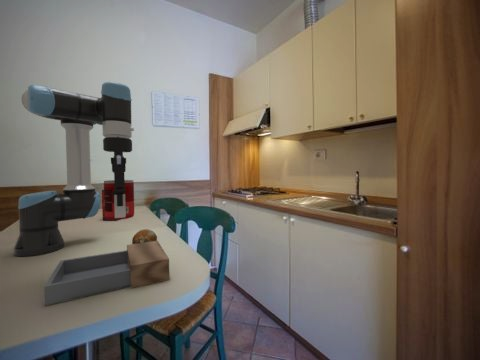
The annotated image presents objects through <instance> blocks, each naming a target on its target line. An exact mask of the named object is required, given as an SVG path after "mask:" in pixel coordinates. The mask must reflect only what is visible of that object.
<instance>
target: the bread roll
mask: <svg viewBox="0 0 480 360" xmlns="http://www.w3.org/2000/svg"><path fill="white" fill-rule="evenodd" d="M131 240H132V242H131V243H132V244H138V243H145V242H152V241H158V235H157V234H156V233H155V232H154V231H153V230H151V229H149V228H145V229H140V230H139V231H137V232H136V233H135V234H134V236H133V237H132V239H131Z"/></svg>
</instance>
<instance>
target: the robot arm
mask: <svg viewBox="0 0 480 360" xmlns="http://www.w3.org/2000/svg"><path fill="white" fill-rule="evenodd" d="M100 94H101V97H96V96H93V95H86V94H83V93H77V92H76V93H75V92H73V91H66V90H62V89H57V88H52V87H48V86H45V85H38V84H30V85H28V87H27V90H26V91H24V92H23V94H22V96H21V104H22V105H23V107H24V108H25V109H26V110H27V111H28V112H29V113H31V114H32V115H35V116H39V117H42V118H44V119H45V118H46V119H50V120H55V121H60V126H61V127H62V128H63V129H64V130H65V154H66V155H65V156H66V158H65V159H66V182H67V183H66V185H65V187H64V188H63V189H62V193H58V191H57V190H47V191H44V190H43V191H38V192H32V193H29V194H23V195H21V196H20V197H19V199H18V207H17V209H18V223H19V235H18V237H17V239H16V243H15V245H14V246H13V255H14V256H15V257H33V256H38V255H44V254H49V253H51V252H52V253H53V252H55V251H58V250H61V249H63V248H64V247H65V241H64V238H63V236H62V234H61V231H60V229H59V222H63V221H66V222H67V221H72V220H79V219H89V218H93V217H95V216H96V215H97V214H98V212H99V211H100V206H101V197H100V196H101V195H100V192H99V191H97V190H96V188H95V186H93V185H92V182H91V181H92V177H91V176H92V175H91V173H92V172H91V143H90V142H91V141H90V139H91V137H90V136H91V135H90V132H91V130H93V129H94V126H95V125H99V126H102V136H103V137H104V138H103V139H102V145H103V146H102V147H103V148H102V149H103V151H105V152H109V153H113V157H110V165H111V172H112V173H113V175H114V176H113V179H114V184H115V189H114V192H112V195H114V207H115V218H123V217H126V210H125V180H126V179H125V172H126V165H127V157H124V155H123V154H124V153H132V152H133V140H132V139H131V138H132V137H133V135H132V133H133V132H134V131H135V129H134V127H132V96H131V95H132V93H131V89H130V87H129V86H127V84H123V83H120V82H116V81H107V82H104V83H102V84H101V91H100Z"/></svg>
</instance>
